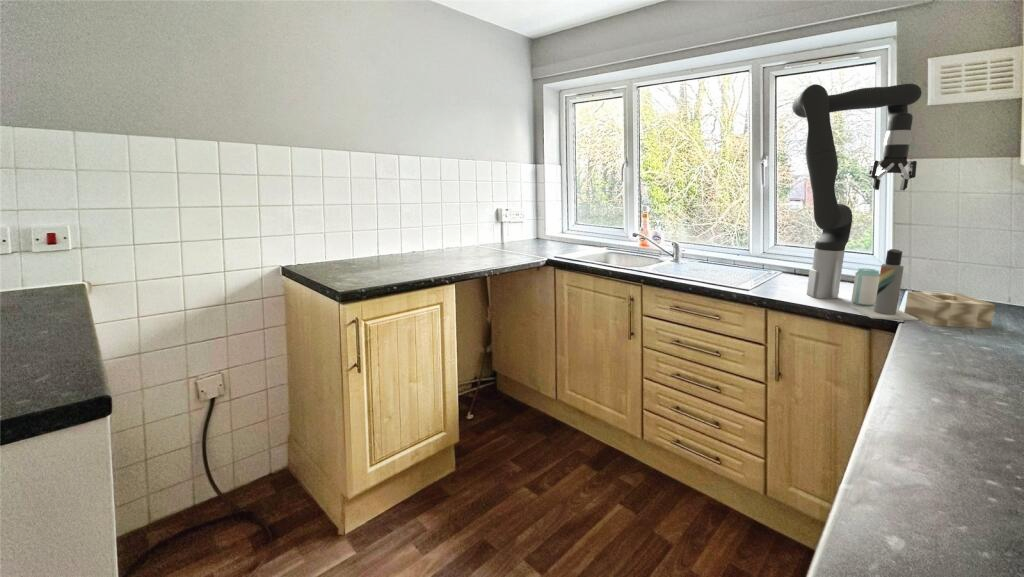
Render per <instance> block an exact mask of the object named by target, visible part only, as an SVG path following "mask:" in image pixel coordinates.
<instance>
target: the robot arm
mask: <svg viewBox="0 0 1024 577" xmlns="http://www.w3.org/2000/svg"><path fill="white" fill-rule="evenodd" d="M921 96H922V88H921V86H919V84H915V83H902V84H896V85H890V86H874V87H873V86H872V87H861V88H857V89H853V90H852V89H851V90H849V91H846V92H845V91H844V92H840V93H837V94H836V93H835V94H829V93H828V91H827V90H826V88H825V86H822V84H821V85H820V84H817V83H816V84H810V85H809V86H807V87H806V88H804V89H803V90H802V91H801V92H800V93H799V94H798V95H797V96H796V97H795V98H794V100H793V101H792V105H791V108H792V109H791V110H792V111H793V113H794V115H796V116H798V117H800V118H803V119H805V118H806V122H807V137H806V142H805V161H806V166H807V169H808V170H807V171H808V174H809V180H810V187H811V191H812V202H813V218H814V222H815V225H816V226H817V227H818V228H819V229H820V230H822V232H821V235H820V236H819V238H818V239H817V240H816V241H815V244H814V251H813V252H814V253H813V260H812V265H811V266H812V267H811V268H810V269H809V273H808V281H807V289H806V295H808V296H810V297H811V298H819V299H827V300H834V299H838V298H839V293H840V284H841V277H842V272H843V271H842V270H843V264H844V256H845V251H846V246H847V244H848V242H849V239H850V235H851V229H852V224H853V212H852V210H851V207H849V206H848V205H847V204H843V203H838V200H837V195H836V191H835V189H836V188H835V184H836V180H837V175H838V169H839V168H838V167H839V161H838V160H839V159H838V156H837V150H836V146H835V140H834V134H833V128H832V124H831V116H830V115H831V114H830V113H837V112H843V111H851V110H864V109H866V110H868V109H878V108H883V107H886V110H887V116H888V117H887V118H888V121H887V126H886V133H885V136H884V141H883V148H882V154H881V160H871V162H870V167H869V171H868V178H870V179H873V184H872V188H873V189H874V191H879V190H880V185H881V178H882V177H883V176H885V175H886V174H898V175H899V176H900V178H901V180H900V186H899V190H900V191H905V190H907V188H908V183H909V180H910V179H914V178H916V176H917V175H916V174H917V166H918V165H917V162H918V161H916V160H910V161H909V160H908V156H909V151H910V150H909V149H910V143H911V132H912V125H913V114H912V113H909V109H908V108H909V106H910V105H913V104H915V103H917V102H918V101H919V99H921ZM879 166H880V167H881V168H880V169H879V170H878V167H879ZM906 166H907V167H908V171H907V170H906V169H905V168H906ZM877 170H878V172H877Z"/></svg>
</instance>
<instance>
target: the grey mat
mask: <svg viewBox="0 0 1024 577" xmlns="http://www.w3.org/2000/svg"><path fill="white" fill-rule="evenodd" d="M852 309H853V310H855V311H857V312H859V313H860V314H863V315H864V316H867V317H868V318H870V319H876V320H877V319H879V320H895V319H900V320H901V321H919V319H918V318H915V317H913V316H911V315H909V314H907V313H904V312H905V311H902V310H899V309H898V308H897V310H896V314H893V315H889V314H881V313H877V312H875V307H868V306H863V307H862V306H852ZM885 318H886V319H885ZM900 320H899V321H900Z"/></svg>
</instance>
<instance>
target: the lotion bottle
mask: <svg viewBox="0 0 1024 577" xmlns="http://www.w3.org/2000/svg"><path fill="white" fill-rule="evenodd" d="M902 259H903V250H900V249H893V248H891V249H889V250H887V251H886V257H885V263H883V264H881V266H880V271H879V274H880V277H879V284H878V290H877V296H876V303H875V305H874V308H875V312H877V313H881V314H889V315H893V314H896V310H897V309H898V302H899V298H900V292H901V286H902V280H903V274H904V266H903V265H901V264H902Z"/></svg>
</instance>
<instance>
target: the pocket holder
mask: <svg viewBox="0 0 1024 577" xmlns="http://www.w3.org/2000/svg"><path fill="white" fill-rule="evenodd" d="M995 310H996V304H994V303H991V302H987V301H984V300H982V299H979V298H976V297H973V296H970V295H966V294H963V293H957V292H956V293H955V292H952V293H951V292H929V291H907V295H906V301H905V308H904V311H903V312H904V313H907V314H909V315H911V316H913V317H915V318H918V319H919V320H920V321H921V322H924V323H926V324H929V325H931V326H936V327H937V326H938V327H939V326H941V327H957V328H959V327H960V328H976V329H978V328H979V329H991V327H992V323H993V318H994V314H995Z"/></svg>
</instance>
